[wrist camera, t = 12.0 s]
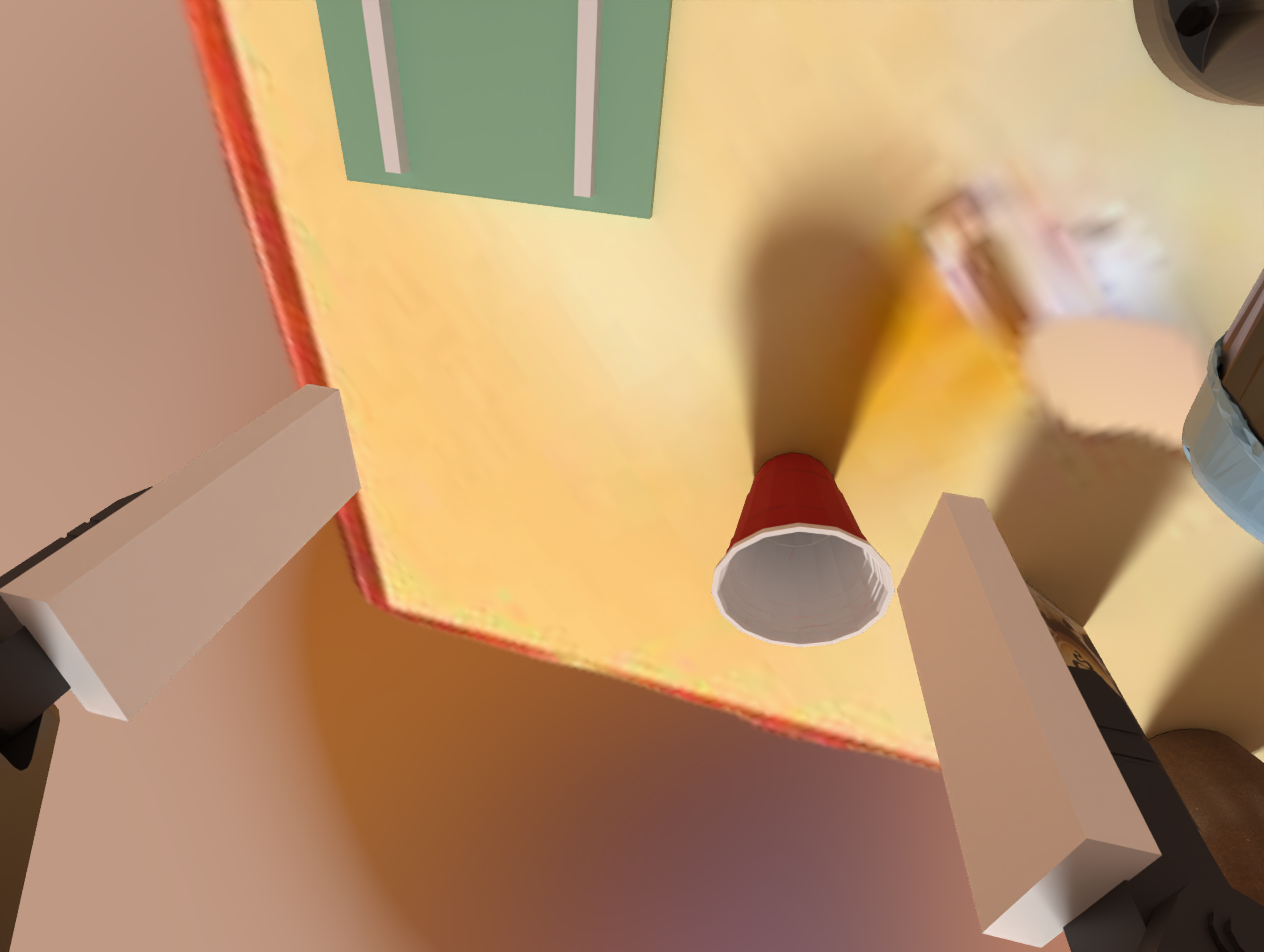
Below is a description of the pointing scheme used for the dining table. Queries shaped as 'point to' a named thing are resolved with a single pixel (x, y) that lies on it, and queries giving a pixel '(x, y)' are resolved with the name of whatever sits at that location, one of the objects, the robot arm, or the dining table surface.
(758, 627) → the plastic cup
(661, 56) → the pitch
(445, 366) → the dining table surface
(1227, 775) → the plant pot
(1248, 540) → the dining table surface
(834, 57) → the dining table surface
